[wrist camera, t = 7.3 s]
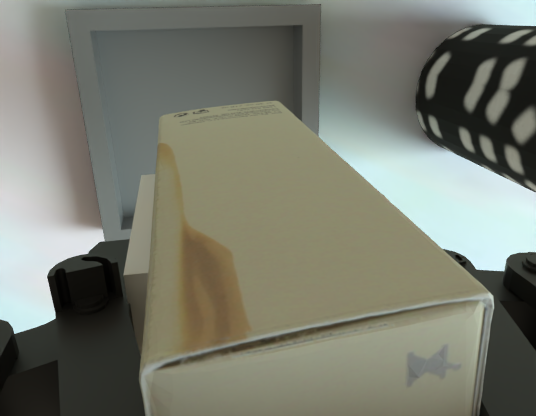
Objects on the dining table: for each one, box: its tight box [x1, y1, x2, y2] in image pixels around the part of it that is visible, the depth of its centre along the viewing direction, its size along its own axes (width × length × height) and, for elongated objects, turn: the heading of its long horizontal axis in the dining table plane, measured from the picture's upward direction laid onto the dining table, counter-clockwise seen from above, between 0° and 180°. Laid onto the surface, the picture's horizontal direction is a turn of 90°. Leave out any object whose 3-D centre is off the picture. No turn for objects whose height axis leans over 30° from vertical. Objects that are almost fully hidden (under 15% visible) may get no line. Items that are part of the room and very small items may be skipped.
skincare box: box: [139, 101, 494, 416], centre depth 12 cm, size 6×4×12 cm
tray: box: [65, 4, 321, 242], centre depth 28 cm, size 13×13×2 cm
